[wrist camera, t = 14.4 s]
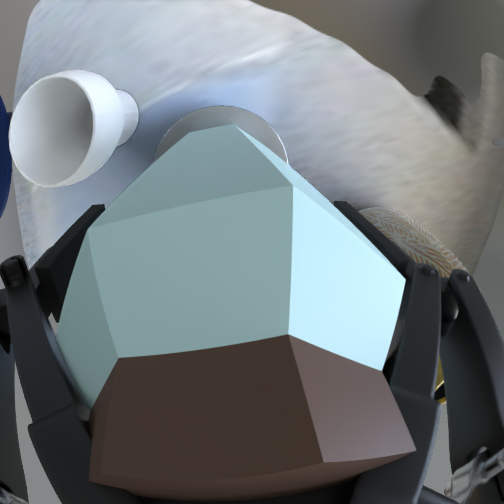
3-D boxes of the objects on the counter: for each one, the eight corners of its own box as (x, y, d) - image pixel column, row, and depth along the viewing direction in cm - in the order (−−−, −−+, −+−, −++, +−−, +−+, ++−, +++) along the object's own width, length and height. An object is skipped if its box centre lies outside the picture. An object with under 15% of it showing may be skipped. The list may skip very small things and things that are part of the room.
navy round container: (167, 108, 29) (150, 108, 21) (274, 108, 31) (293, 109, 23) (170, 207, 35) (157, 237, 28) (268, 206, 37) (282, 235, 29)
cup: (81, 80, 25) (10, 76, 12) (156, 79, 27) (113, 61, 14) (73, 157, 30) (5, 192, 17) (144, 161, 32) (99, 199, 19)
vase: (391, 285, 47) (470, 397, 24) (305, 296, 46) (364, 446, 22) (412, 197, 39) (539, 296, 15) (315, 196, 37) (439, 342, 14)
